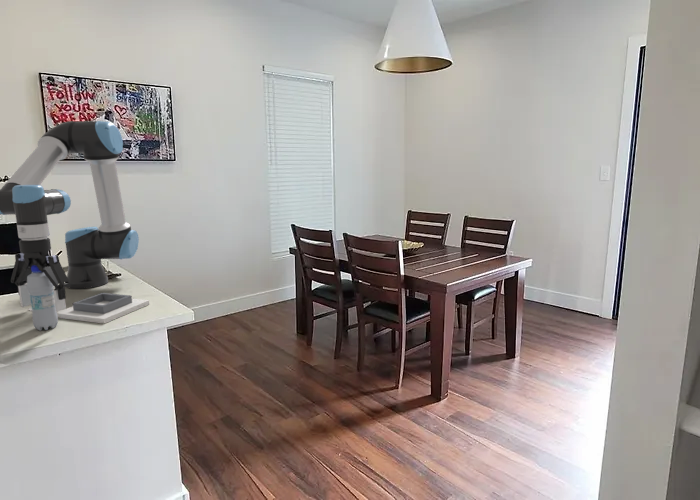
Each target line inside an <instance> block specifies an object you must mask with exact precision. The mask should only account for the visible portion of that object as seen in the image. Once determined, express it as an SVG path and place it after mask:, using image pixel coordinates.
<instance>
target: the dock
mask: <svg viewBox="0 0 700 500" xmlns="http://www.w3.org/2000/svg"><path fill="white" fill-rule="evenodd" d="M149 305H150V300H148V299H140V298H133V297H132V295H128V294H120V293H118V294H117V293H109V292H101V293H98V294H95V295H91V296H90V297H89V296H88V297H86V298H83V299H81V300H77V301H75V302H72V306H70V307H66V309H63V310H60V311H56V312H57V316H58V319H64V320H65V319H66V320H74V321H82V322H91V323H97V324H98V323H99V324H107V323H109V322H111V321H113V320H116V319H119V318H121V317H123V316H125V315H128V314H130V313H132V312H135V311H137V310H140V309H142V308H144V307H146V306H149Z"/></svg>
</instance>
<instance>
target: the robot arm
mask: <svg viewBox="0 0 700 500" xmlns="http://www.w3.org/2000/svg"><path fill="white" fill-rule="evenodd" d="M123 141H124V140H123V136H122V135H121V131H120V130H119V128H118V127H117V126H116V125H115V124H114V123H112V122H110V121H102V120H97V121H96V120H95V121H94V120H91V121H90V120H89V121H88V120H86V121H84V120H83V121H81V120H80V121H77V120H75V121H74V120H70V121H64V122H61V123H59V124H56V126H54V127H52V128H50V129H49V130H48V131H47V132H45V133H44V134H43V135H42V136H40V138H39V139H38V141H37V146H36V148H35V149H34V150H33V152H32V153H31V154H30V155H29V156H28V157H27V158H26V159H25V160H24V162H23V163H22V164H21V165H20V167H18V169H16V170H15V172H14V173H13V174H12V175H11V177H10V178H8V180H7V181H6V183H4V184H3V186H2V187H1V188H0V215H1V216H2V215H3V216H7V215H9V216H12V215H13V216H14V215H15V220H16V228H17V236H18V239H19V241H18V246H19V251H20V253H15V254H14V255H15V256H14V257H15V259H14V260H15V262H14V266H13V270H12V274H11V278H10V283H11V284H15V285H16V286H17V292H18V296H19V302H20V308H24V307H28V306H31V299H30V293H29V291H28V288H27V284H26V283H27V276H28V275H30V274H31V273H33V272H32V270H31V266H33V265H35V266H37V267H38V269H39V270H40V271H41V272H44V274H45V275H46V276H47V278H48V279H49V280H50V282H51V283H52V284H53V286H54V289H53V292H54V299H55V307H56V312H58V311H61V310H64V309H67V304H66V298H67V296H66V288H67V289H70V290H71V289H74V290H77V289H80V290H81V289H90V288H91V289H92V288H95V287H100V286H103V285H105V284H108V283H109V278H108V275H107V274H106V271H105V268H104V267H103V264H102V260H127V259H132V258H134V256H135V255H136V254H137V252H138V248H139V240H140V239H139V238H140V237H139V234H138V232H137V230H134V229H132V227H131V224H130V223H129V222H127V220H126V216H125V212H124V211H125V210H124V204H123V199H122V193H121V187H120V181H119V176H118V170H117V164H116V162H117V161H118V159H119V158H120V156H119V155H120V154H121V153H122V151H123V149H124V147H123V146H124V142H123ZM72 154H82V155H83V158H84V161H86V162H87V163H89V164H90V165H89V167H90V171H91V176H92V177H91V178H92V182H93V185H94V192H95V195H96V196H95V197H96V201H97V207H98V208H97V209H98V213H99V216H100V222H101V224H100V225H99V226H87V227H82V228H76V229H71V230H68V231H66V233H65V234H64V235H65V237H64V238H65V239H64V241H65V242H64V244H65V250H66V257H67V263H68V268H67V273H66V272H65V271H64V268H63V266H62V264H61V262H60V257H59V255H58V254H54V255H53V254H52V255H50V253H49V252H50V251H51V250H52V245H51V239H50V238H49V237H50V228H49V221H48V216H50V215H59V214H62V213H65V212H66V211H68V210H69V208H70V207H71V204H72V203H71V201H72V200H71V197H70V195H69V194H68V193H67V192H66V191H65V190H62V189H57V188H56V189H54V188H52V189H44V187H43V186H42V185H41V184H42V183H43V182H44V180H45V179H46V178H47V176H48V175H49V174H50V173H51V172H52V171H53V169H54V168H55V166H56V165H57V164H58V163H59V161H63V160H65V159H66V158H67V156H68V155H72Z"/></svg>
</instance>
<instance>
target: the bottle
mask: <svg viewBox="0 0 700 500" xmlns="http://www.w3.org/2000/svg"><path fill="white" fill-rule="evenodd" d="M31 270H32V273H31V274H30V275H28V276H27V288H28V291H29V293H30V299H31V305H30V307H31V308H32V311H31V312H32V313H31V315H32V325H33V328H34V329H35V330H38V331H42V330H43V329H44V330H45V331H48V330H49V327H50V328H51V329H54V328H56V327H57V326H58V324H59V318H58V316H57V312H58V311H56V306H55V298H54V289H55V287H54V286H53V284H52V283H51V282H50V280H49V279H48V278H47V276H46V275H45V274H44V272H41V271H40V270H39V269H38V267H37V266H35V265H33V266H31Z"/></svg>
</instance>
